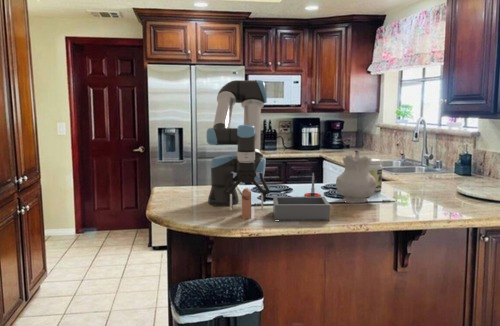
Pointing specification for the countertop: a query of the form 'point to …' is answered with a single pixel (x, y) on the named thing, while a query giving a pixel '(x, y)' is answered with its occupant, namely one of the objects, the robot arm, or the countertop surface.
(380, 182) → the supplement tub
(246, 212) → the wooden peg
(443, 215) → the countertop surface
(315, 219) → the open box
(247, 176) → the robot arm
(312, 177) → the tow hook
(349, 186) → the ceramic pitcher
